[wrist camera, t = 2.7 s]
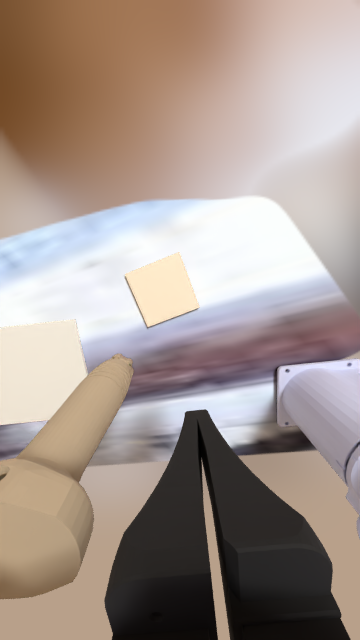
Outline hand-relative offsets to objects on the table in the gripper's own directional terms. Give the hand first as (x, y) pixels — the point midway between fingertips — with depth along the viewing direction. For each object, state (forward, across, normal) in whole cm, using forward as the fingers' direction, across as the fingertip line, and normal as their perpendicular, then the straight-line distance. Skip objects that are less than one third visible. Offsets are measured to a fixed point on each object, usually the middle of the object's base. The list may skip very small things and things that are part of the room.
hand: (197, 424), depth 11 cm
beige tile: (+10, +2, -8) cm, 13 cm away
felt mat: (+10, +22, 0) cm, 24 cm away
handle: (+10, +8, 0) cm, 13 cm away
